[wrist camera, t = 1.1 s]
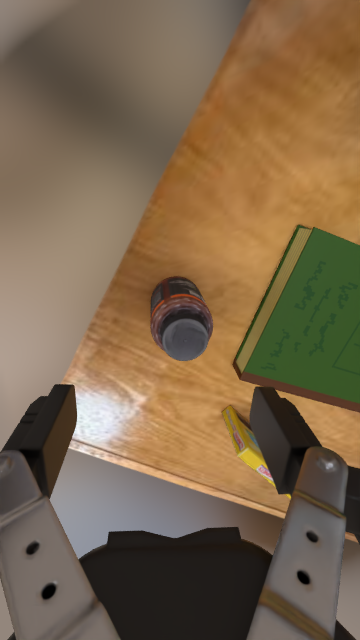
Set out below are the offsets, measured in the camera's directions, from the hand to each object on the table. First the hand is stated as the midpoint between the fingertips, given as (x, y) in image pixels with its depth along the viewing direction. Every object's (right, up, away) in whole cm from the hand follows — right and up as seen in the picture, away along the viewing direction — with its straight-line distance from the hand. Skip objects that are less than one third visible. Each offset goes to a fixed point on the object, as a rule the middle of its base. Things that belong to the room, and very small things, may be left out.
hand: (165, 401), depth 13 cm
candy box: (+13, -14, +31) cm, 37 cm away
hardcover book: (+22, +3, +25) cm, 34 cm away
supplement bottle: (0, +6, +22) cm, 23 cm away
